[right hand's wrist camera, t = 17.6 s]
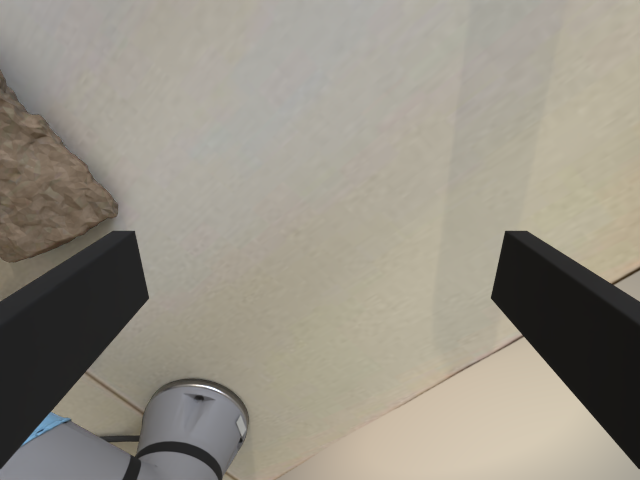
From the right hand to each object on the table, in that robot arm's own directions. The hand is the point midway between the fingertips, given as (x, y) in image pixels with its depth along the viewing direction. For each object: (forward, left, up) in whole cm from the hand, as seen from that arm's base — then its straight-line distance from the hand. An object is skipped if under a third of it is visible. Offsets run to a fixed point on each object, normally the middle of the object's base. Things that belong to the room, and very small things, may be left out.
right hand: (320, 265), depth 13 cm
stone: (-29, +16, -28) cm, 43 cm away
